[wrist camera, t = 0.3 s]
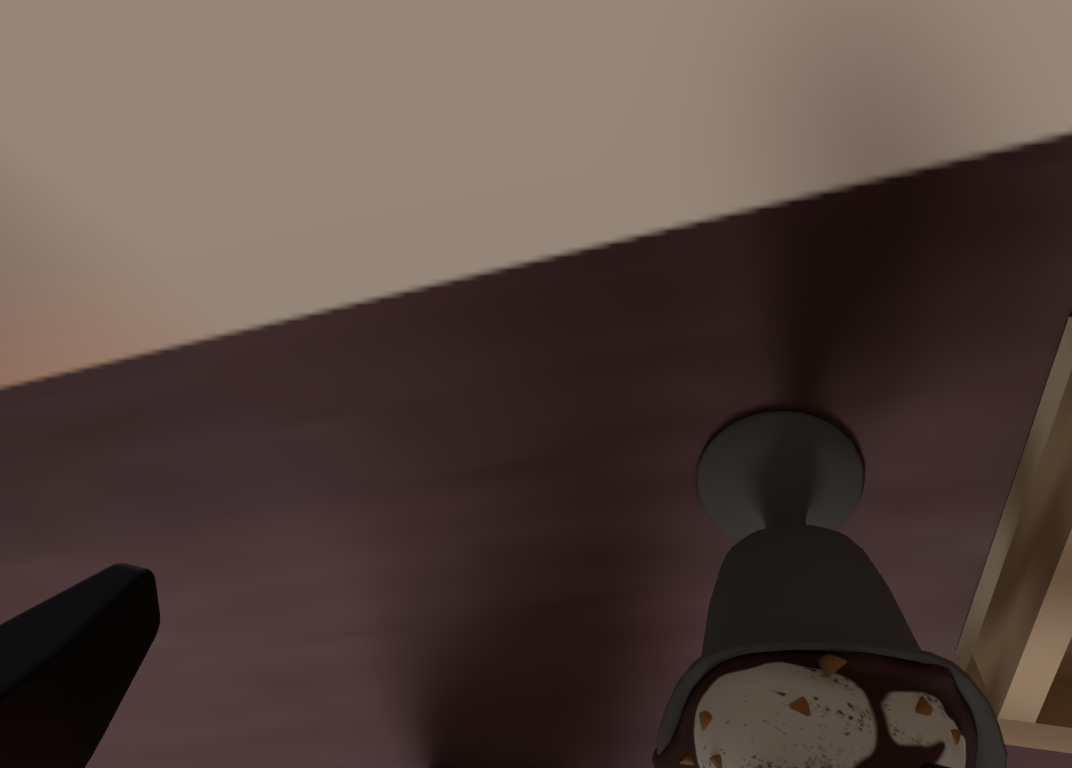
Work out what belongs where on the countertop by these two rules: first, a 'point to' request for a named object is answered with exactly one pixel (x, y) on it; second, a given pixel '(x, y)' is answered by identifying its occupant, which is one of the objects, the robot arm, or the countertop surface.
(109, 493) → the countertop surface
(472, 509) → the countertop surface
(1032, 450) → the cream square tray
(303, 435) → the countertop surface
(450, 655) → the countertop surface
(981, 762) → the sundae
